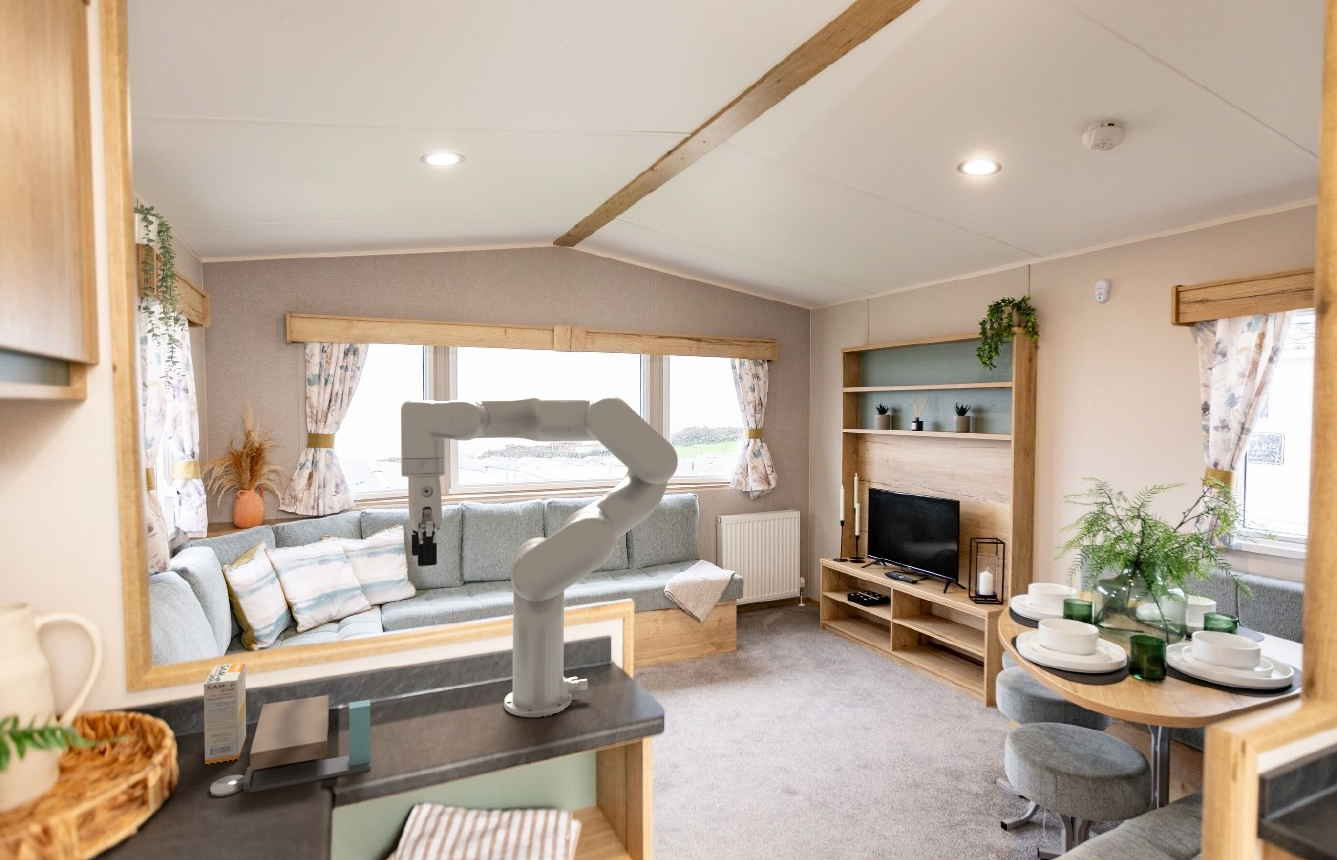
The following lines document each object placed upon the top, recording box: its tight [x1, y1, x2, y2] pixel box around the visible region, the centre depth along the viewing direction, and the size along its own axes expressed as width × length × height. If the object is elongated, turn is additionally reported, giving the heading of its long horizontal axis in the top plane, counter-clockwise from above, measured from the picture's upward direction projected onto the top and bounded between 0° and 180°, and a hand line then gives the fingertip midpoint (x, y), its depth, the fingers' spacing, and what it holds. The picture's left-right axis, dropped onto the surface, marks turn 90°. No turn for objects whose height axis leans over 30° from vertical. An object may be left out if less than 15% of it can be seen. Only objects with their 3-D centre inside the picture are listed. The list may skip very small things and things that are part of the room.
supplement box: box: [203, 662, 247, 765], centre depth 114 cm, size 8×5×13 cm, turn 23°
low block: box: [249, 694, 330, 771], centre depth 113 cm, size 10×18×6 cm, turn 25°
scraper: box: [242, 699, 372, 795], centre depth 108 cm, size 17×5×10 cm, turn 115°
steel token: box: [209, 774, 245, 797], centre depth 104 cm, size 4×4×1 cm
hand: (423, 560), depth 130 cm, fingers open, 9 cm apart
